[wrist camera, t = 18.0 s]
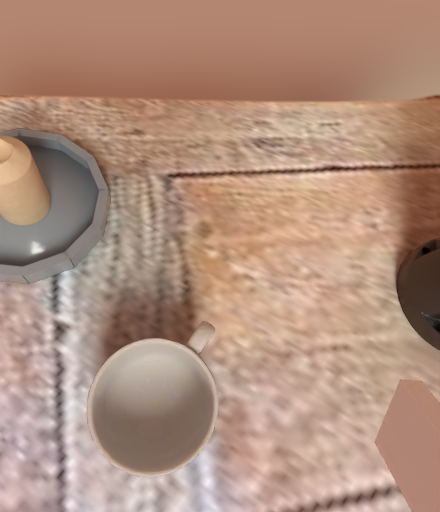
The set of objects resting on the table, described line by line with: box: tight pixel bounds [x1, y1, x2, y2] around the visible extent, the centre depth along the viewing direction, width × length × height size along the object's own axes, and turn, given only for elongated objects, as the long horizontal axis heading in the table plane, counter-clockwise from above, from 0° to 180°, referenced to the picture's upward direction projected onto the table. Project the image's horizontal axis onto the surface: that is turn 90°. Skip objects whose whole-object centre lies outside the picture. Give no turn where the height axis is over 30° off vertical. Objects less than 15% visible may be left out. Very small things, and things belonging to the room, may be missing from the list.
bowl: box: [0, 128, 110, 284], centre depth 44 cm, size 18×18×2 cm
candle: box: [0, 136, 51, 226], centre depth 40 cm, size 6×6×10 cm
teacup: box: [87, 321, 219, 477], centre depth 36 cm, size 14×11×8 cm
